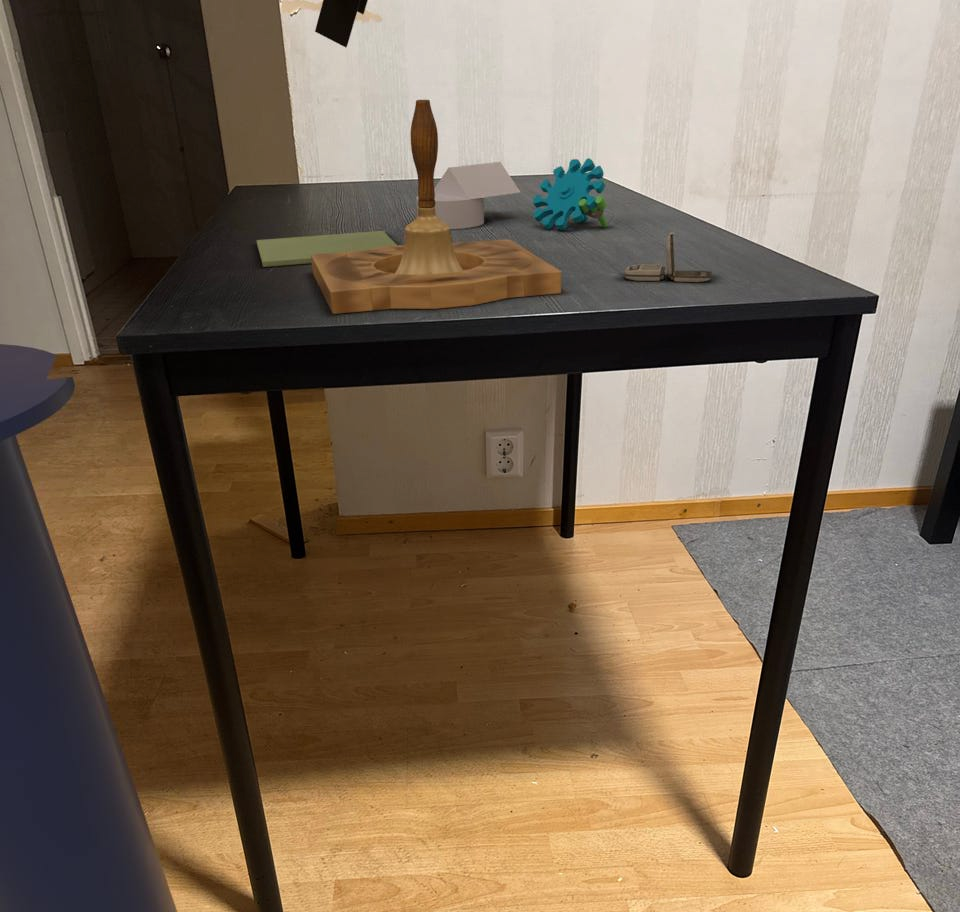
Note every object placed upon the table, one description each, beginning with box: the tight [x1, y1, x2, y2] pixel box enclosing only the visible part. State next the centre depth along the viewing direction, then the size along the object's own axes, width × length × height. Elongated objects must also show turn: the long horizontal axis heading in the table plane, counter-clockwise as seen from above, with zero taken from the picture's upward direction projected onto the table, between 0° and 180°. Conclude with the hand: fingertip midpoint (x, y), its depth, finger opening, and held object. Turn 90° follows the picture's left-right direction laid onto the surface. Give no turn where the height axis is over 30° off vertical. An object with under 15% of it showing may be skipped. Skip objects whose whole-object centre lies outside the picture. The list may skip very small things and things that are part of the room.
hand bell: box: [395, 99, 463, 275], centre depth 85 cm, size 8×8×16 cm
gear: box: [532, 157, 609, 230], centre depth 114 cm, size 11×6×10 cm
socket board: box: [311, 238, 562, 315], centre depth 89 cm, size 22×21×2 cm
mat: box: [256, 230, 398, 268], centre depth 106 cm, size 16×14×1 cm
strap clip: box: [624, 231, 713, 283], centre depth 87 cm, size 8×3×4 cm, turn 76°
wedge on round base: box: [415, 161, 522, 230], centre depth 118 cm, size 9×7×13 cm
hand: (340, 22), depth 78 cm, fingers open, 13 cm apart
